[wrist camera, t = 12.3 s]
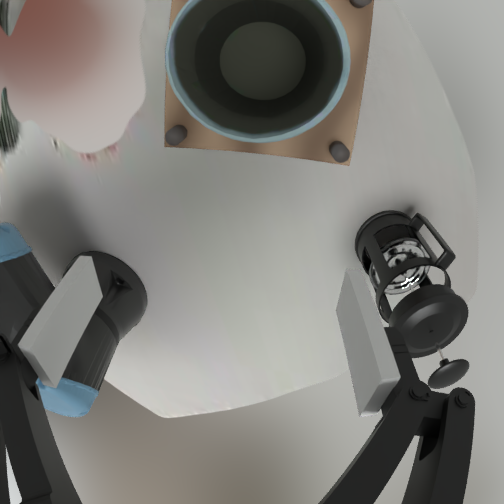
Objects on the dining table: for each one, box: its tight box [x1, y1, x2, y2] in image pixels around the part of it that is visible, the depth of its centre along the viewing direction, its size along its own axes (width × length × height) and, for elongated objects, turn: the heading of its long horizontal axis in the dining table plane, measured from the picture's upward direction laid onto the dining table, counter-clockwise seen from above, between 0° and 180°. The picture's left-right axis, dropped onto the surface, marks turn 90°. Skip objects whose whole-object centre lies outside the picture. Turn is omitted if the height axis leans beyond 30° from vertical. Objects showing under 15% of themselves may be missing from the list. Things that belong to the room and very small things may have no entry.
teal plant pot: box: [165, 0, 351, 143], centre depth 19 cm, size 10×10×12 cm
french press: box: [355, 211, 469, 389], centre depth 31 cm, size 12×9×23 cm
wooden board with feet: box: [165, 0, 374, 166], centre depth 26 cm, size 18×18×9 cm
